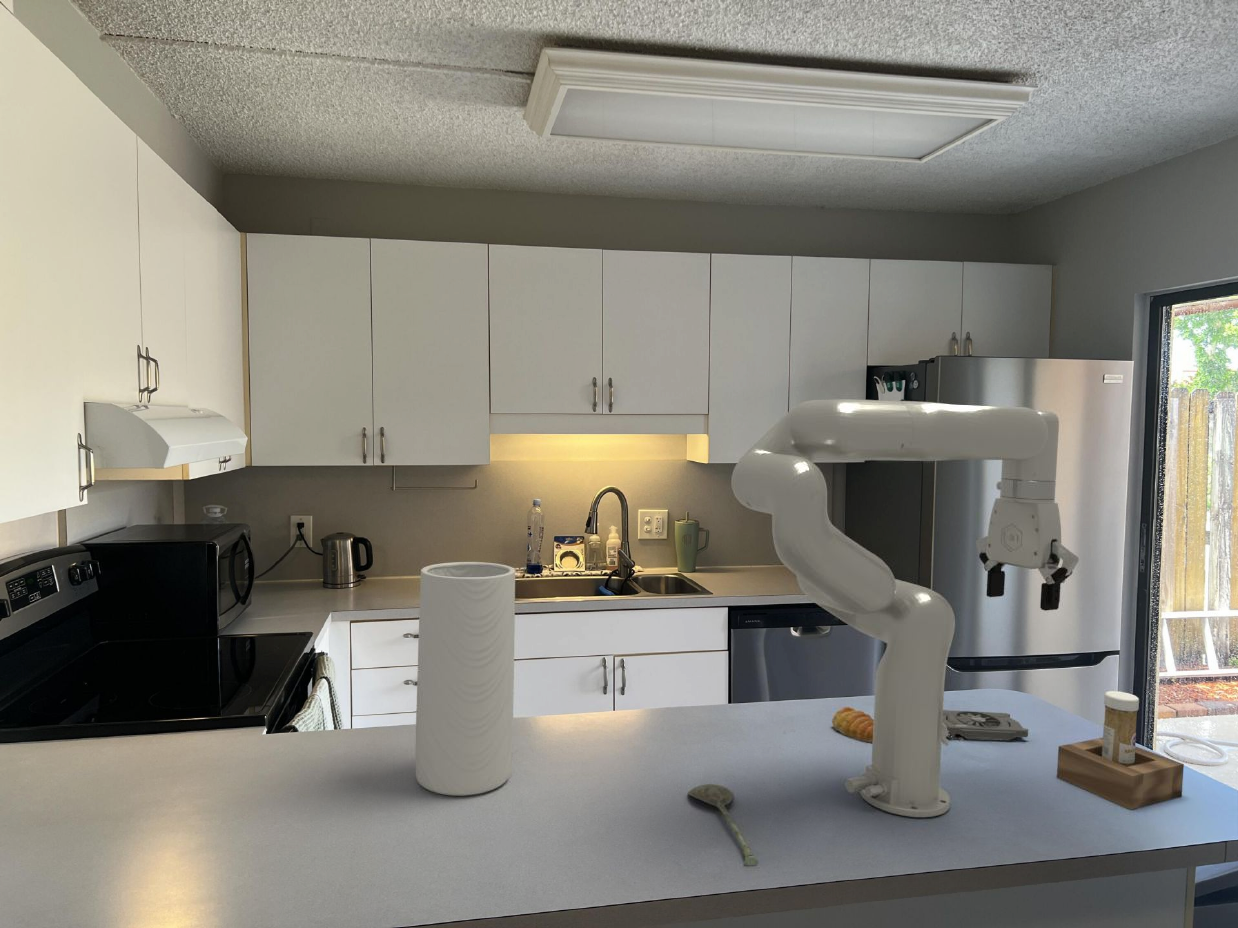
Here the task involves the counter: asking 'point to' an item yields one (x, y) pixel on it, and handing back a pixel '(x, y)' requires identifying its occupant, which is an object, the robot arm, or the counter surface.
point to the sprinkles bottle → (1120, 727)
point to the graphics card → (980, 725)
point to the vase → (465, 677)
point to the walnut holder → (1120, 774)
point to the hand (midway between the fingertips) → (1021, 602)
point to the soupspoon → (723, 811)
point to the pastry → (854, 724)
